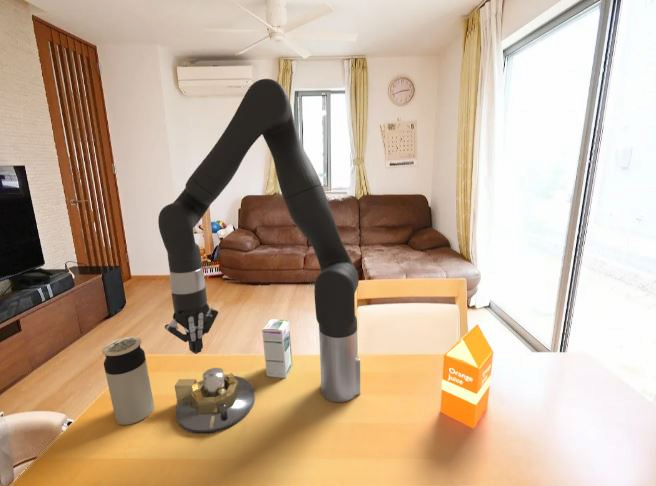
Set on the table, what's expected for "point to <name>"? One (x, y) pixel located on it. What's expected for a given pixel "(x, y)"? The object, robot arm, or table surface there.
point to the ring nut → (195, 393)
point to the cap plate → (226, 416)
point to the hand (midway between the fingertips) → (196, 351)
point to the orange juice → (467, 378)
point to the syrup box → (277, 348)
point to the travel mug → (128, 380)
